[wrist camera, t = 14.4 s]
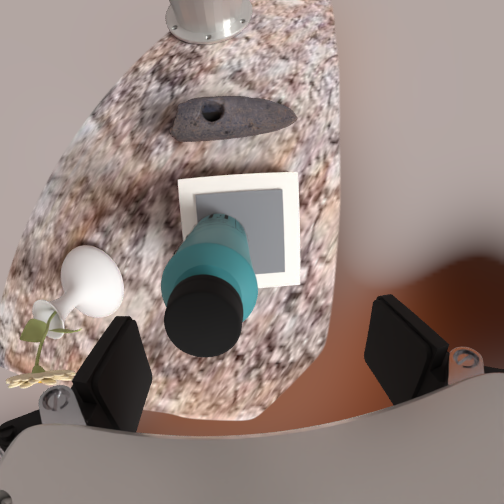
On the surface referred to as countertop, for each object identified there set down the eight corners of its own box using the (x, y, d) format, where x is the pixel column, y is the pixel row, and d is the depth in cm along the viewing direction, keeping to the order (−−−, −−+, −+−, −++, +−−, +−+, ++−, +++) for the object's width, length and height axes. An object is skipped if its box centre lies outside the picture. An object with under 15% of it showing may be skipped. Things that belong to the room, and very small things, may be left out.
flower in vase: (72, 306, 37) (-16, 399, 13) (64, 240, 34) (-56, 304, 10) (140, 317, 38) (71, 444, 14) (136, 245, 36) (22, 341, 11)
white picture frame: (183, 179, 34) (176, 179, 30) (290, 172, 34) (298, 171, 30) (194, 281, 37) (189, 293, 33) (293, 274, 38) (300, 285, 34)
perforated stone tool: (291, 105, 32) (304, 90, 25) (292, 142, 34) (306, 134, 27) (178, 109, 31) (166, 94, 25) (178, 146, 33) (166, 138, 26)
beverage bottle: (235, 202, 31) (240, 239, 11) (255, 254, 32) (286, 358, 13) (183, 222, 31) (112, 287, 12) (204, 273, 33) (174, 389, 13)
